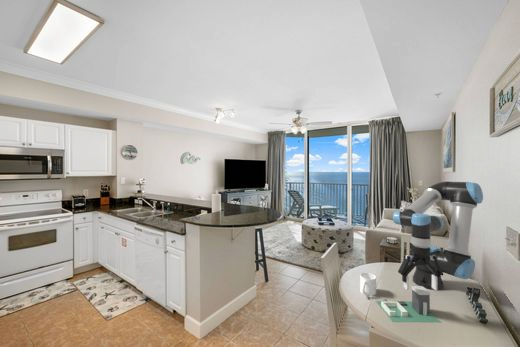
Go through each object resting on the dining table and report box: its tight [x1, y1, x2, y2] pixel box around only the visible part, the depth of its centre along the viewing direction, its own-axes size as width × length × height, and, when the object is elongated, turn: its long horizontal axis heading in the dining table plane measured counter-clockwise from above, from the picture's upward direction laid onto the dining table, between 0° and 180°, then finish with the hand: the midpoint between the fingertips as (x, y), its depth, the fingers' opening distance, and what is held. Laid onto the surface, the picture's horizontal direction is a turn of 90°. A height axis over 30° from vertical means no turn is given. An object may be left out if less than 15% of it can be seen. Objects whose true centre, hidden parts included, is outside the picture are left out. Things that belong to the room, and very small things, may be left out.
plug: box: [411, 285, 431, 315], centre depth 108 cm, size 5×6×11 cm
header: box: [380, 300, 408, 316], centre depth 109 cm, size 8×8×2 cm
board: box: [375, 298, 442, 323], centre depth 109 cm, size 22×16×3 cm
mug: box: [359, 272, 377, 298], centre depth 125 cm, size 12×8×10 cm
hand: (420, 288), depth 108 cm, fingers open, 13 cm apart
